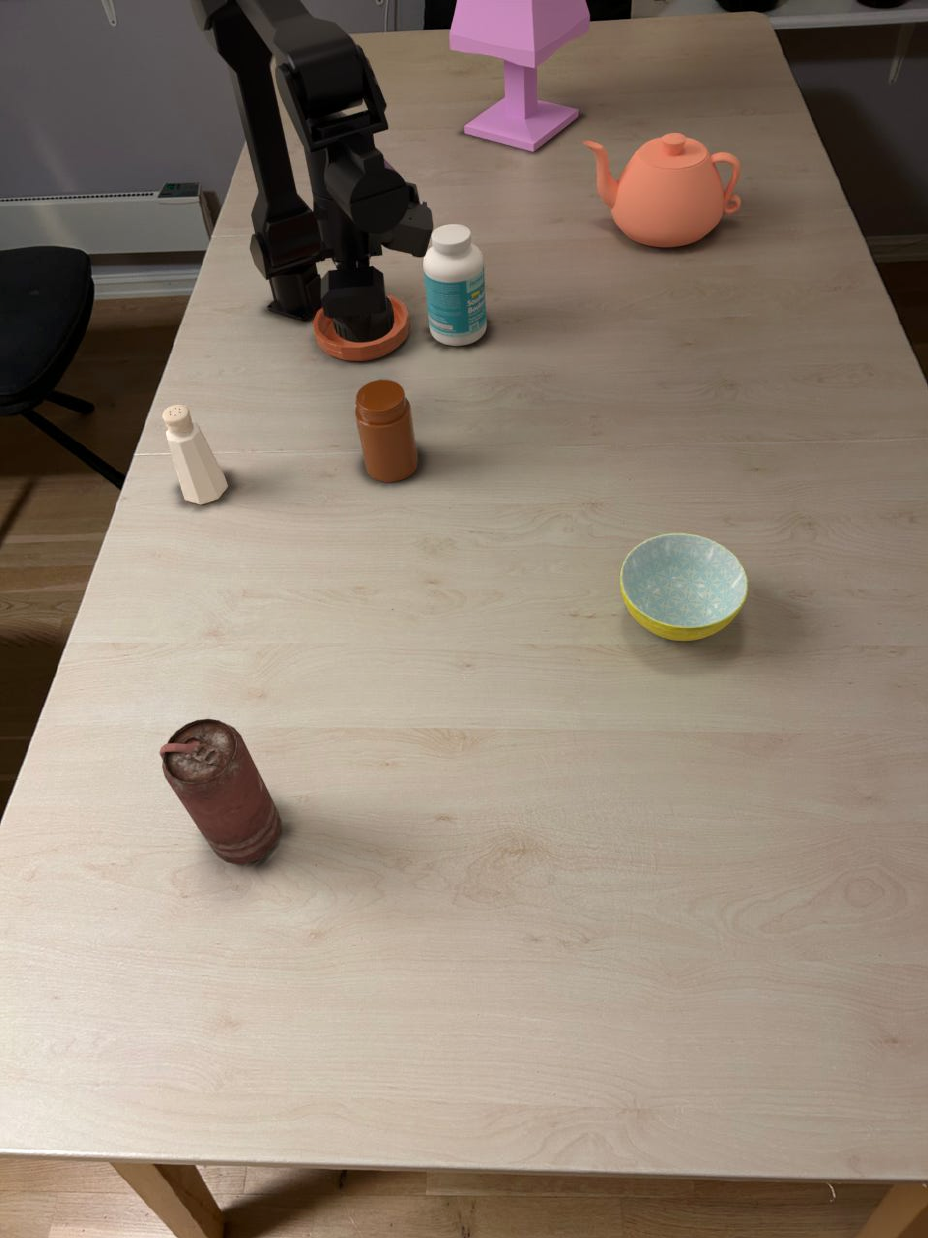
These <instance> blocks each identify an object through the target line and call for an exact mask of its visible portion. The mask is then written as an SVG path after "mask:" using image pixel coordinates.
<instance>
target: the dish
mask: <svg viewBox="0 0 928 1238" xmlns="http://www.w3.org/2000/svg"><path fill="white" fill-rule="evenodd" d="M386 296H387V297H388V298H389V299H390V301H391V303H392V307H393V312H394V321H395V323H394V326H393V328H392V330H391V331H390V332H389V333H388V334H387V335H385V336H384V337H382V338H380V339H378V340H375V341H372V342H366V343H355V342H350V341H346V340H344V339H342V338H341V337H340V336H339V335H338V334H336V331H335V329H334V325H333V320H332V318H331V319H330V318H328V317H325V316H324V313H323V308H322V307H320V308H319V309H318V310H317V311H316V314H315V317H314V319H313V321H312V327H313V331H314V335H315V339H316V343H317V346H318V347H319V348H320V349H321V350H323V351H324V352H325V353H326V354H327V355H329V356H332V357H335V358H337V359H340V360H343V361H350V362H363V361H364V362H365V361H370V360H375V359H379V358H382V357H384V356H386V355H388V354H390V353H392V352H393V351H395V350H396V349H398V348H399V347H400V346H401V345H402V344H403V343H404V342H405V340H407V338H408V335H409V332H410V328H411V322H410V315H409V312H408V309H407V307H406V306H407V305H406V304H405V303H404V302H403V301H401V300H400V299H399V298H397V297H396V296H394V295H391V294H389V293H386Z"/></svg>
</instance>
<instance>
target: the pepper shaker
mask: <svg viewBox="0 0 928 1238" xmlns="http://www.w3.org/2000/svg"><path fill="white" fill-rule="evenodd" d="M161 417H162V420H163V421H164V422H165V425H166V428H167V430H166V431H165V434H166V439H167V443H168V447H169V450H170V454H171V457H172V460H173V464H174V468H175V471H176V475H177V479H178V482H179V486H180V489H181V493H182V495H183V499H184V500H185V501H186V502H189V503H193V504H197V505H204V504H205V505H206V504H208V503H212V502H214V501H217V500H219V499H220V498H221V497H222V495H223V494H224V493H225V492H226V490H227V489H228V488H229V484H228V482H227V479H226V477H225V474H224V472H223V470H222V468H221V466H220V464H219V462H218V460H217V458H216V456H215V454H214V453H213V450H212V448H211V446H210V444H209V442H208V441H207V439H206V437H205V435H204V433H203V431H202V429H201V427H200V425H199V424H198V423H197V422H195V421H193V419H192V415H191V413H190V408H188V406H186V405H184V404H173V405H171V406H169V407H167V408H166V409H165V410H163V413H162V416H161Z"/></svg>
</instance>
